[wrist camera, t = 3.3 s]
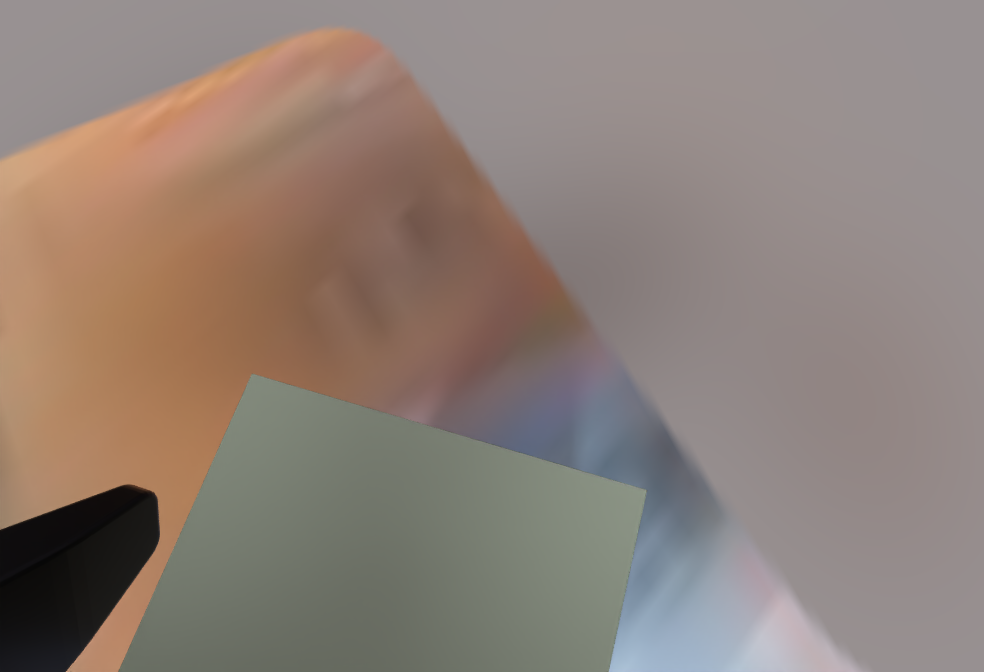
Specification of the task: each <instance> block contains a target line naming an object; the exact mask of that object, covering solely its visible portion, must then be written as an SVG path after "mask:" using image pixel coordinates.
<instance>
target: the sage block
mask: <svg viewBox="0 0 984 672" xmlns="http://www.w3.org/2000/svg"><path fill="white" fill-rule="evenodd" d="M646 492H647V490H645V489H641V488H638V487H635V486H631V485H628V484H624V483H621V482H618V481H614V480H611V479H607V478H604V477H601V476H597V475H594V474H590V473H587V472H584V471H580V470H577V469H574V468H570V467H567V466H563V465H560V464H557V463H553V462H550V461H546V460H543V459H540V458H536V457H533V456H529V455H526V454H523V453H519V452H516V451H513V450H509V449H506V448H502V447H499V446H496V445H492V444H489V443H485V442H482V441H479V440H475V439H472V438H469V437H465V436H462V435H458V434H455V433H452V432H448V431H445V430H441V429H438V428H435V427H431V426H428V425H424V424H421V423H418V422H414V421H411V420H408V419H404V418H401V417H397V416H394V415H391V414H387V413H384V412H380V411H377V410H374V409H370V408H367V407H364V406H360V405H357V404H353V403H350V402H347V401H343V400H340V399H336V398H333V397H330V396H326V395H323V394H319V393H316V392H313V391H309V390H306V389H303V388H299V387H296V386H292V385H289V384H286V383H282V382H279V381H275V380H272V379H269V378H265V377H262V376H258V375H255V374H252V375H251V377H250V379H249V382H248V384H247V386H246V388H245V391H244V393H243V395H242V397H241V399H240V402H239V404H238V406H237V408H236V411H235V413H234V415H233V417H232V420H231V422H230V424H229V426H228V428H227V431H226V433H225V435H224V437H223V440H222V442H221V444H220V446H219V449H218V451H217V453H216V455H215V457H214V460H213V462H212V464H211V466H210V469H209V471H208V473H207V475H206V478H205V480H204V482H203V484H202V486H201V489H200V491H199V493H198V495H197V498H196V500H195V502H194V504H193V507H192V509H191V511H190V513H189V515H188V518H187V520H186V522H185V524H184V527H183V529H182V531H181V533H180V535H179V538H178V540H177V542H176V544H175V547H174V549H173V551H172V553H171V556H170V558H169V560H168V562H167V564H166V567H165V569H164V571H163V573H162V576H161V578H160V580H159V582H158V585H157V587H156V589H155V591H154V593H153V596H152V598H151V600H150V602H149V605H148V607H147V609H146V611H145V614H144V616H143V618H142V620H141V622H140V625H139V627H138V629H137V631H136V634H135V636H134V638H133V640H132V643H131V645H130V647H129V649H128V651H127V654H126V656H125V658H124V660H123V663H122V665H121V667H120V669H119V672H609V667H610V662H611V658H612V653H613V648H614V644H615V639H616V634H617V629H618V625H619V620H620V615H621V610H622V606H623V601H624V596H625V592H626V587H627V582H628V577H629V573H630V568H631V563H632V559H633V554H634V549H635V544H636V540H637V535H638V530H639V525H640V521H641V516H642V511H643V507H644V502H645V497H646Z"/></svg>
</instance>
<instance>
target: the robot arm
mask: <svg viewBox="0 0 984 672" xmlns="http://www.w3.org/2000/svg"><path fill="white" fill-rule="evenodd" d="M159 537H160V526H159V511H158V499H157V496H156V495H155V493H154V492H152V491H150V490H147V489H144V488H141V487H138V486H135V485H122V486H119V487H116V488H113V489H111V490H108V491H105V492H102V493H100V494H97V495H94V496H92V497H89V498H86V499H83V500H81V501H78V502H75V503H72V504H70V505H67V506H64V507H61V508H59V509H56V510H53V511H50V512H48V513H45V514H42V515H39V516H37V517H34V518H31V519H29V520H26V521H23V522H20V523H18V524H15V525H12V526H9V527H7V528H4V529H1V530H0V672H66V671H67V669H68V668H69V667H70V666H71V665H72V663H73V662H74V661H75V660H76V659H77V657H78V656H79V655H80V654H81V653H82V651H83V650H84V649H85V647H86V646H87V645H88V643H89V642H90V641H91V639H92V638H93V637H94V635H95V634H96V633H97V631H98V630H99V628H100V627H101V626H102V624H103V623H104V621H105V620H106V619H107V617H108V616H109V614H110V613H111V612H112V610H113V609H114V607H115V606H116V605H117V603H118V602H119V600H120V599H121V598H122V596H123V595H124V593H125V592H126V591H127V589H128V588H129V586H130V585H131V584H132V582H133V581H134V579H135V578H136V576H137V575H138V574H139V572H140V571H141V569H142V568H143V567H144V565H145V564H146V562H147V561H148V560H149V558H150V557H151V555H152V554H153V552H154V551H155V549H156V547H157V545H158V542H159Z"/></svg>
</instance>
